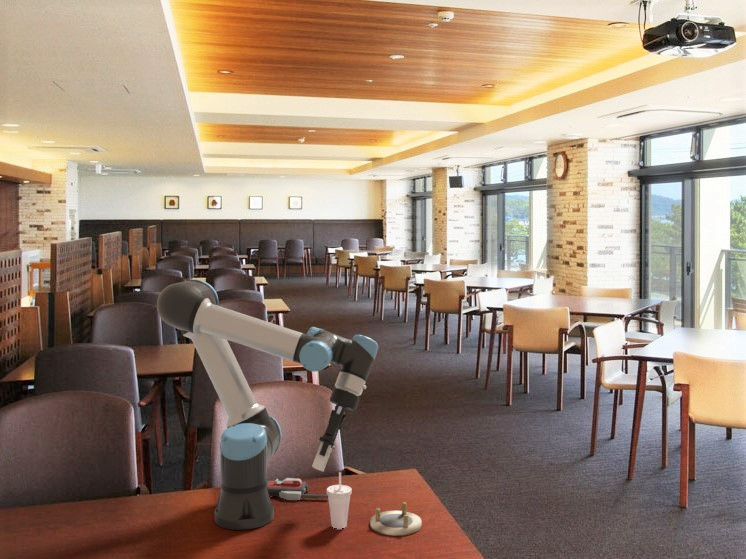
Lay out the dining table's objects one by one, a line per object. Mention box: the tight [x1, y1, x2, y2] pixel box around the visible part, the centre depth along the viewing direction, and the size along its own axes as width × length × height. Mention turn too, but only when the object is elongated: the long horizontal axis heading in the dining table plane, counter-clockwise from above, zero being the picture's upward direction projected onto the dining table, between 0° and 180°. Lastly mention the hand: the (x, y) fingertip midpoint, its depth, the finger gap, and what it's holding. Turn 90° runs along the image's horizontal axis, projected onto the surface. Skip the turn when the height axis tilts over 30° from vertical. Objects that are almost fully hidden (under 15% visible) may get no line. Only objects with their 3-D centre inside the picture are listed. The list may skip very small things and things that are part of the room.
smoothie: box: [326, 471, 353, 530], centre depth 179 cm, size 6×6×14 cm
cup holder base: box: [369, 502, 423, 537], centre depth 181 cm, size 13×13×4 cm
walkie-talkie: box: [267, 477, 328, 501], centre depth 201 cm, size 9×4×20 cm
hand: (317, 469), depth 184 cm, fingers open, 13 cm apart
